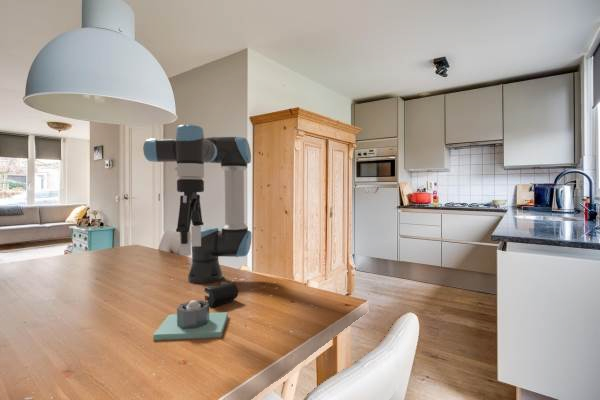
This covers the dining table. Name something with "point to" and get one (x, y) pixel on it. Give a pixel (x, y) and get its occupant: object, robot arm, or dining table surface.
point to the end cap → (221, 293)
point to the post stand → (207, 331)
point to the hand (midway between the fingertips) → (191, 250)
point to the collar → (192, 316)
